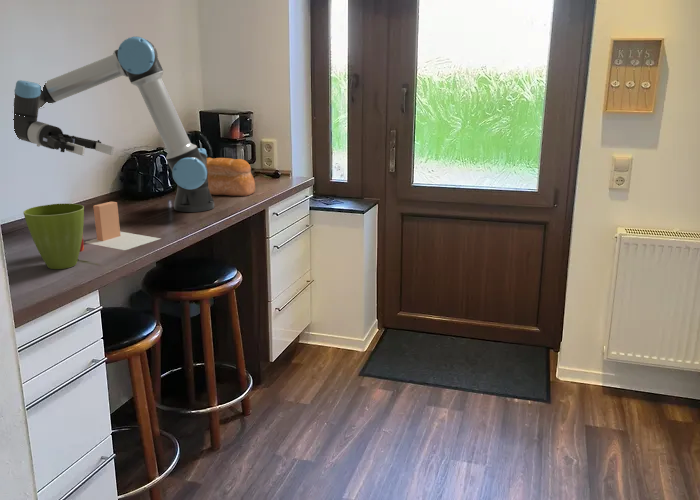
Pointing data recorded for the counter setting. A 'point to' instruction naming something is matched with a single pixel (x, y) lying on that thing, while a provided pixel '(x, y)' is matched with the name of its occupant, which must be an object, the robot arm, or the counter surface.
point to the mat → (124, 241)
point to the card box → (107, 221)
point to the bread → (230, 177)
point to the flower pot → (57, 233)
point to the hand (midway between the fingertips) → (98, 151)
